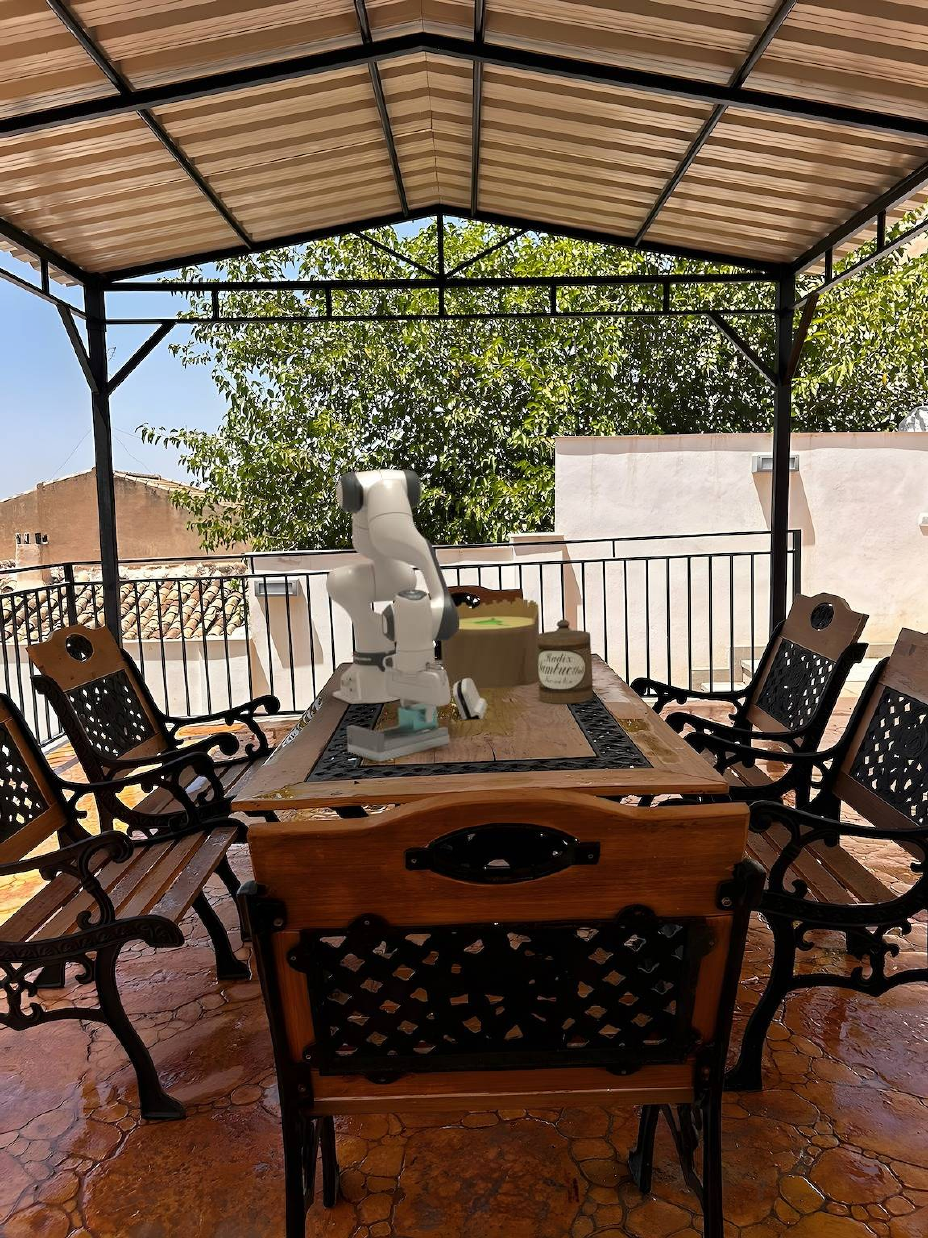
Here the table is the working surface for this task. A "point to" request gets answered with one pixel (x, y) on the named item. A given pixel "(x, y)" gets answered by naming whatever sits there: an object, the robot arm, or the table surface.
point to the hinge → (468, 699)
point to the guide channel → (392, 741)
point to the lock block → (415, 718)
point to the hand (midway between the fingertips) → (418, 719)
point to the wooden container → (565, 665)
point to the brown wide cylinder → (494, 645)
